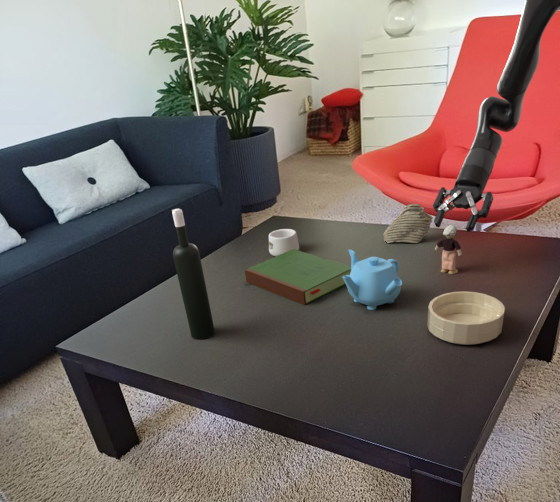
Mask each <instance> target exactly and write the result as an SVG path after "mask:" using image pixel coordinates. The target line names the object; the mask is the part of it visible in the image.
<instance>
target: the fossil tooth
mask: <svg viewBox="0 0 560 502" xmlns="http://www.w3.org/2000/svg"><path fill="white" fill-rule="evenodd" d="M433 220H434V217H433V216H432V215H430V214H429V213H428V212H426V211H425V207H424V206H421V204H419V203H413V204H408V205H405V206H404V208H403V209H402V210H401V212H400V213H398V215H397V216H396V217H395V219H393V221H392V222H391V223H390V224H389V226H387V228H386V229H385V231H384V232H383V240H384V242H385V241H386V242H387V243H386V242H385V243H386V244H390V243H408V244H409V243H410V244H419V243H421V242H422V240H423V239H424V238H425V236H426V235H427V234H428V233H429V231H430V229H431V224H432V223H433Z"/></svg>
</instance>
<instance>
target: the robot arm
mask: <svg viewBox="0 0 560 502" xmlns="http://www.w3.org/2000/svg"><path fill="white" fill-rule="evenodd" d="M559 11H560V0H525V2H524V7H523V8H522V13H521V17H520V21H519V24H518V28H517V31H516V35H515V39H514V42H513V43H514V44H513V46H512V49H511V51H510V54H509V56H508V59H507V62H506V64H505V66H504V69H503V71H502V73H501V75H500V78H499V80H498V81H497V86H496V92H497V94H498V95H499V96H500V97H501V98H500V97H498V96H492V95H491V96H488V97H487V98H485V99H484V100H483V101H482V103H481V104H480V106H479V109H478V112H477V113H478V115H477V123H476V124H477V125H476V131H475V136H474V139H473V141H472V144H471V146H470V148H469V151H468V153H467V155H466V157H465V158H464V161H463V163H462V165H461V167H460V170H459V173H458V175H457V177H456V180H455V182H454V186H453V187H452V188H451V189H446V187H444V186H442V187H440V189H439V191H438V194H437V196H436V198H435V199H434V202H433V203H432V208H433V209H434V211H435V212H436V215H435V217H434V218H433V223H434V225H435V227H436V228H440V227H441V225H442V222H443V220H444V218H445V214H447V213H448V212H449V211H452V210H454V209H455V208H456V209H464V210H468V209H470V211H471V213H472V214H470V217H469V218H468V220H467V224H466V226H465V230H466V232H468V233H471V231H473V230H475V227H476V225H477V222H478V220H479V219H482V218H483V219H486V218H488V216H489V213H490V210H491V207H492V204H493V201H494V196H493V193H492V191H487V192H486V193H485V192H484V191H485V188H486V186H487V185H488V181H489V179H490V176H491V175H492V173H493V169H494V167H495V162H496V160H497V157H498V155H499V152H500V150H501V147H502V145H503V137H502V136H501V134H500V133H498V132H497V131H500V132H503V133H509V132H512V131H513V130H514V129H515V128H517V126H518V124H519V122H520V120H521V116H522V111H523V110H522V109H523V104H524V98H525V96H526V93H527V90H528V88H529V86H530V84H531V82H532V80H533V78H534V75H535V73H536V72H537V69H538V66H539V63H540V58H541V41H542V38H543V35H544V32H545V30H546V28H547V27H548V25H549V23H550V21H551V20H552V18H553V16H555V14H556V12H559ZM496 130H497V131H496ZM481 200H482V202H483V203H482V206H481V209H480V210H479V209H478V208H477V203H479V202H481Z"/></svg>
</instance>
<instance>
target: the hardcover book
mask: <svg viewBox="0 0 560 502" xmlns="http://www.w3.org/2000/svg"><path fill="white" fill-rule="evenodd" d="M350 273H351V265H348V264H344V263H341V262H337V261H334V260H332V259H331V260H330V259H327V258H324V257H322V256H321V257H320V256H318V255H315V254H311V253H307V252H304V251H301V250H295V249H292V250H290V251H288V252H285V253H283V254H281V255H278V256H274V257H272V258H269V259H267V260H264V261H261V262H259V263H256V264H255V265H252V266H250V267H248V268H245V269H244V276H245V281H246V283H247V284H250V285H253V286H255V287H257V288H260V289H263V290H265V291H268V292H271V293H273V294H275V295H278V296H280V297H283V298H285V299H287V300H290V301H293V302H296V303H298V304H300V305H303V306H306V305H308V304H310V303H312V302H314V301H316V300H318V299H320V298H322V297H324V296H327V294H330V293H332V292H333V291H336V290H337V289H340V288H342V287H343V286H346V284H345V282H344V280H343V278H342V277H343V276H345V275H349V276H350Z"/></svg>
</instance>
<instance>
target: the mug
mask: <svg viewBox="0 0 560 502" xmlns="http://www.w3.org/2000/svg"><path fill="white" fill-rule="evenodd" d="M292 249H295V250H298V251H300V245H299V239H298V234H297V231H296V230H294V229H291V228H281V229H276V230H273V231H271V232H269V234H268V253H269V254H270V255H271V256H274V257H276V256H278V255H281V254H283V253H285V252H288V251H290V250H292Z"/></svg>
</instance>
